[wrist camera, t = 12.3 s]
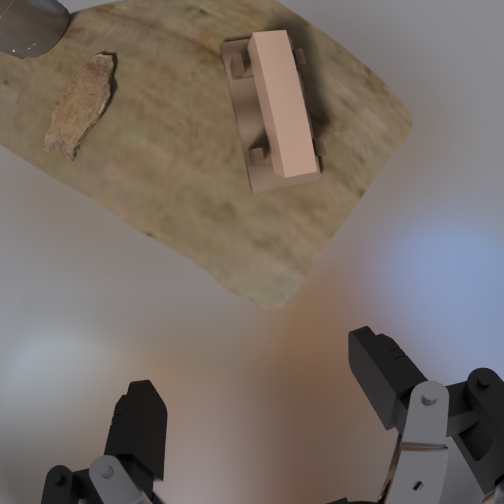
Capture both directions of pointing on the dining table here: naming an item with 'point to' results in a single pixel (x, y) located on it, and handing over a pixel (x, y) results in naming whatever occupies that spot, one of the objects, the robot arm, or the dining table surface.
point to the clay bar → (281, 103)
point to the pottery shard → (80, 106)
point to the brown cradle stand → (260, 119)
